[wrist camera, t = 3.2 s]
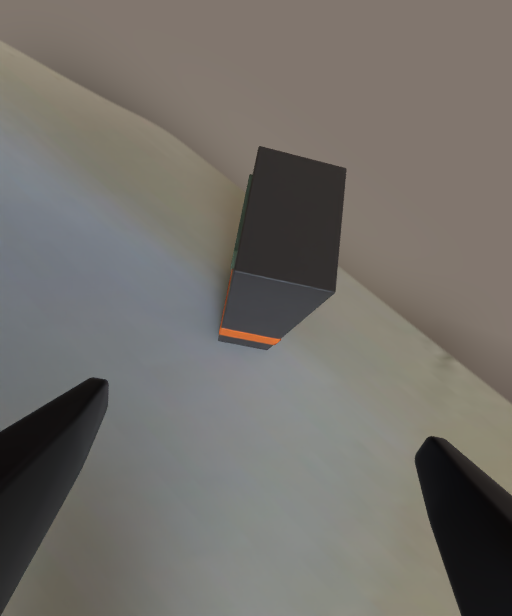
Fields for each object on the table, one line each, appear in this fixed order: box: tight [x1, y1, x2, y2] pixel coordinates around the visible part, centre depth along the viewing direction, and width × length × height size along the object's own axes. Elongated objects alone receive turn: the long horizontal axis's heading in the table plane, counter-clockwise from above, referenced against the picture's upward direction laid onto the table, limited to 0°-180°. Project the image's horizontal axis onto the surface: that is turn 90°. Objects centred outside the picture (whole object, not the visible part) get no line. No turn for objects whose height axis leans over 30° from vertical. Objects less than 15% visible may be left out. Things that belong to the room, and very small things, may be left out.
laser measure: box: [218, 146, 346, 350], centre depth 18 cm, size 4×6×12 cm
